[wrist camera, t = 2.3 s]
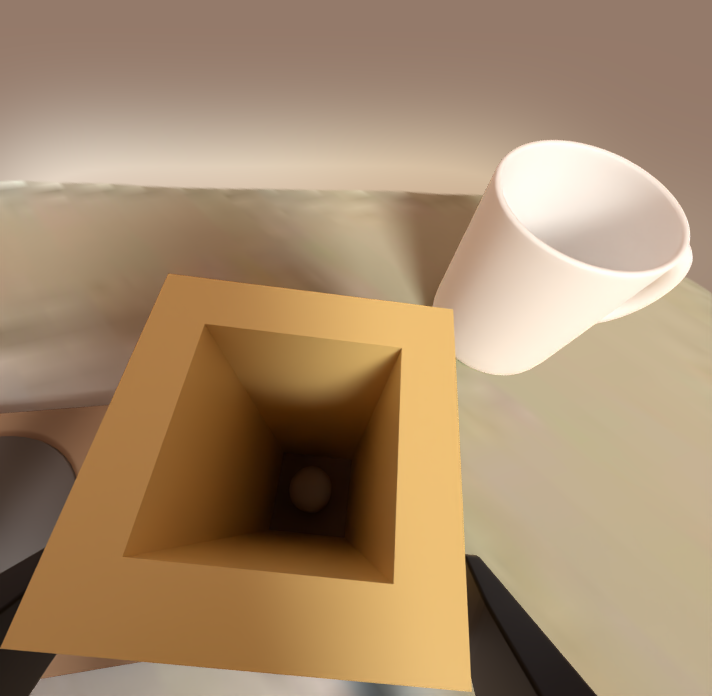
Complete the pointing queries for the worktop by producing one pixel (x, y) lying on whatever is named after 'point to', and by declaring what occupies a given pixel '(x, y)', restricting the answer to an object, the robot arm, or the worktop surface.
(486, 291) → the mug
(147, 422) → the sleeve
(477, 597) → the robot arm
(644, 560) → the worktop surface
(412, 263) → the worktop surface
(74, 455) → the board
